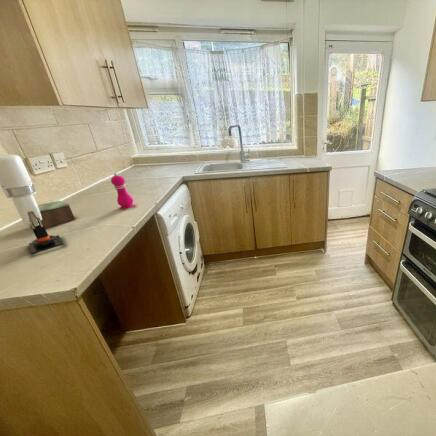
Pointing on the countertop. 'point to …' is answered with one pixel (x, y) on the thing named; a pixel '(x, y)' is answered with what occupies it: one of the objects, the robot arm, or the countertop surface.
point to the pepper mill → (122, 192)
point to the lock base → (45, 244)
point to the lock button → (43, 239)
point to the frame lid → (51, 205)
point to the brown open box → (56, 216)
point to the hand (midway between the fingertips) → (42, 236)
